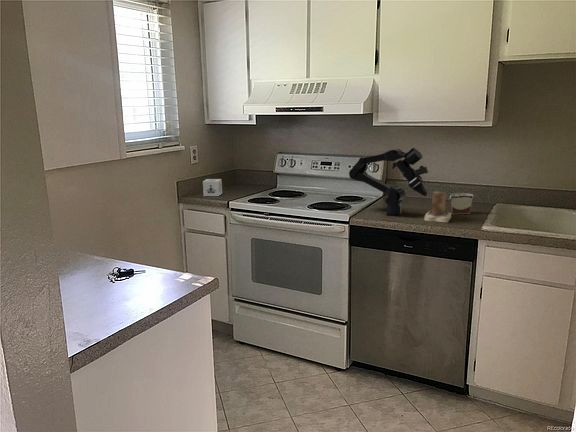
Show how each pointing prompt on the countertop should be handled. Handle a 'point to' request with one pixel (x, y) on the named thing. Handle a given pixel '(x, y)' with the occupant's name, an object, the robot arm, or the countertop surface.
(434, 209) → the tan orange upright block
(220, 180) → the icon cube
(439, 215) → the base plate
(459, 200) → the food container
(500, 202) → the countertop surface
